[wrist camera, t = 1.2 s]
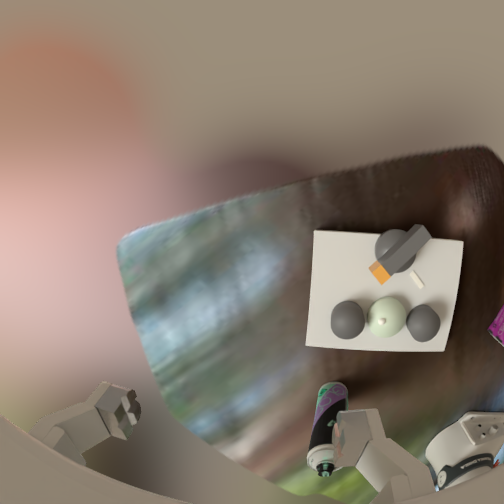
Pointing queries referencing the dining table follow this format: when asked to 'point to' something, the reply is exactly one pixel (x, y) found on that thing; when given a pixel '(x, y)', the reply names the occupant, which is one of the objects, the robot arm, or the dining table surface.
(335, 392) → the spray can
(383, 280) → the wing knob
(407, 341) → the base
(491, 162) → the dining table surface
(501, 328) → the candy bar box
